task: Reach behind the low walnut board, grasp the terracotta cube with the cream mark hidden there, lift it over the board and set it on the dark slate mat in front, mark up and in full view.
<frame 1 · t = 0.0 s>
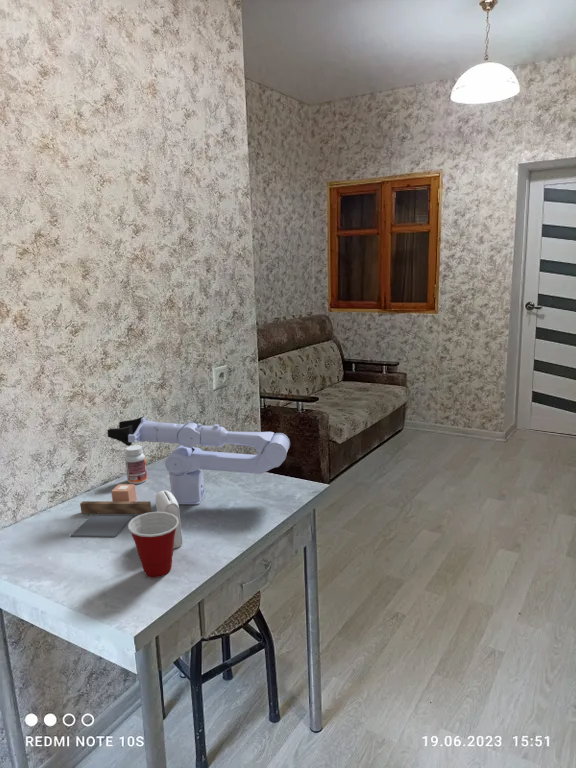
hand: (114, 429, 156), 22 cm above the table, tool horizontal, fingers open, 7 cm apart
slate mat: (103, 525, 143), on the table
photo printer: (171, 540, 134), on the table
walnut board: (116, 512, 151), on the table
marked cube: (125, 503, 157), on the table
plastic cup: (159, 571, 120), on the table
pill bottle: (137, 481, 174), on the table
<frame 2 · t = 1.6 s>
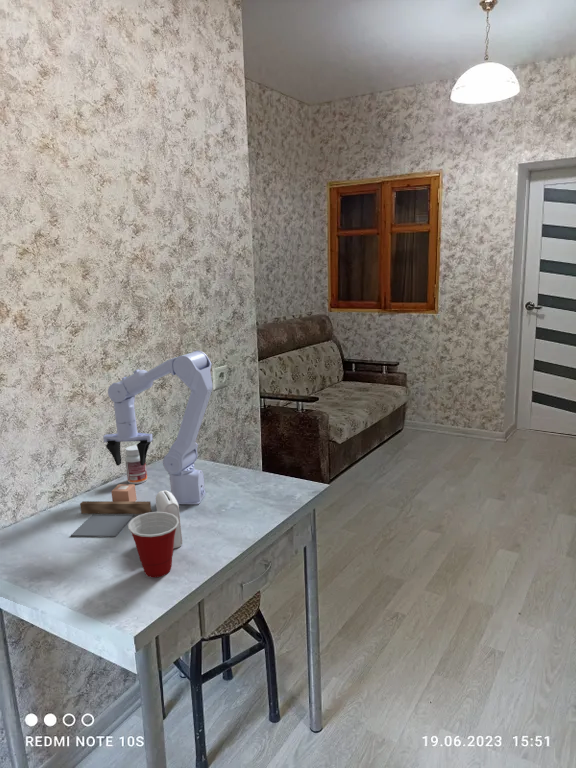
hand: (131, 464, 162), 9 cm above the table, tool pointing down, fingers open, 7 cm apart
nothing on the table moved.
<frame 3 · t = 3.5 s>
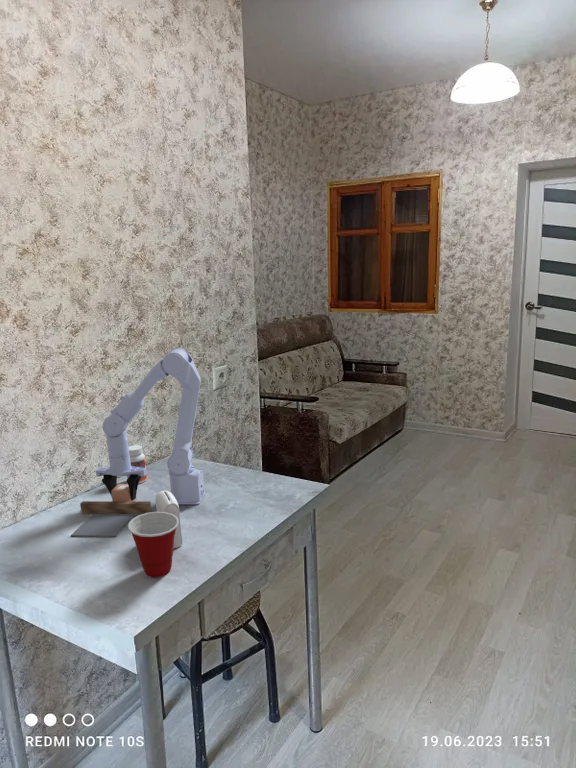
hand: (124, 498, 157), 1 cm above the table, tool pointing down, fingers closed on marked cube, 5 cm apart
marked cube: (125, 503, 157), on the table, touching gripper
everything else where it was.
when the fingers open (3 cm above the table, at t = 9.1 s): marked cube stays where it is, resting on slate mat.
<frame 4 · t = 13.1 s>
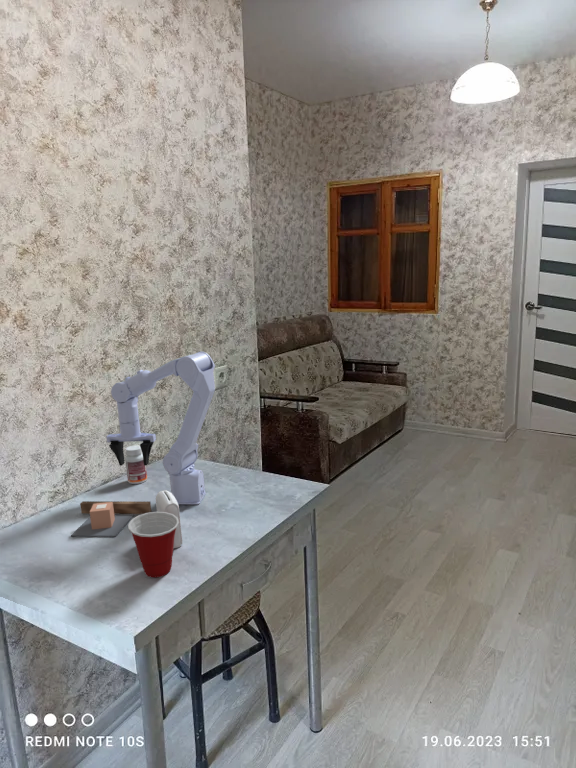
hand: (134, 464, 162), 9 cm above the table, tool pointing down, fingers open, 7 cm apart
marked cube: (103, 524, 144), resting on slate mat
everything else where it was.
at the end: marked cube inside the target area on the slate mat (0.2 cm from its centre), point 0.4 cm above the slate mat's base; marked cube tilted 0°; the gripper is holding nothing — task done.
